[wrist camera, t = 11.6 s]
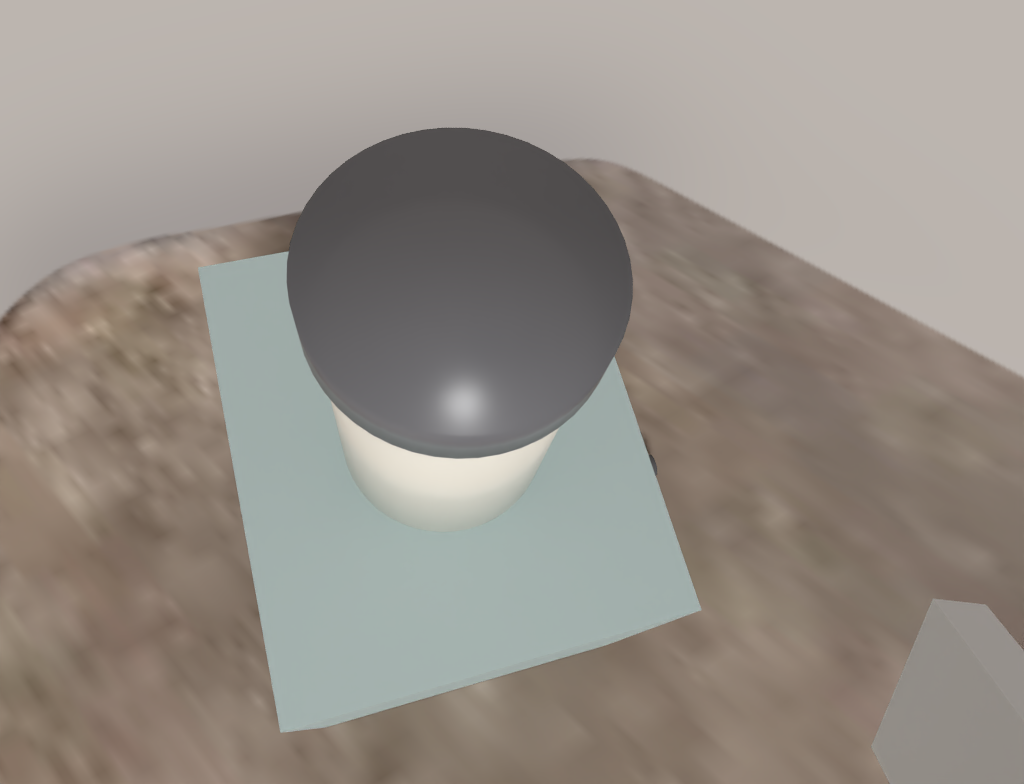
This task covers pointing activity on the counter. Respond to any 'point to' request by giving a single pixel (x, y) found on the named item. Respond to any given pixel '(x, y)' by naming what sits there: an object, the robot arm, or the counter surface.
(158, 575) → the counter surface
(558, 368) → the cream lidded jar
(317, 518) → the block
